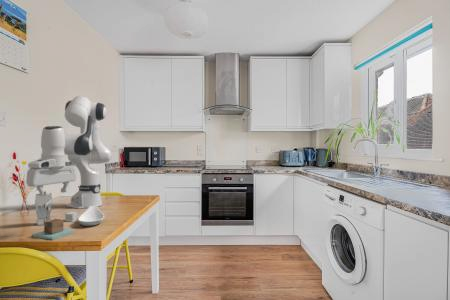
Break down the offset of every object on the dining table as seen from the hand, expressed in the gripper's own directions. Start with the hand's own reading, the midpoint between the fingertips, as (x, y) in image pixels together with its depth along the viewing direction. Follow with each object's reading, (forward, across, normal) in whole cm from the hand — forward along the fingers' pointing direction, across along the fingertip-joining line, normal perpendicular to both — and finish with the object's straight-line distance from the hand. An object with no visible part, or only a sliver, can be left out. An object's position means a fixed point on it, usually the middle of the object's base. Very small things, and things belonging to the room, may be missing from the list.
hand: (53, 194), depth 111 cm
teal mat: (+18, 0, 0) cm, 18 cm away
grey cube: (+18, -19, -13) cm, 29 cm away
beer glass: (+18, -10, -21) cm, 29 cm away
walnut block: (+17, 0, 0) cm, 17 cm away
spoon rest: (+18, -21, -1) cm, 28 cm away
